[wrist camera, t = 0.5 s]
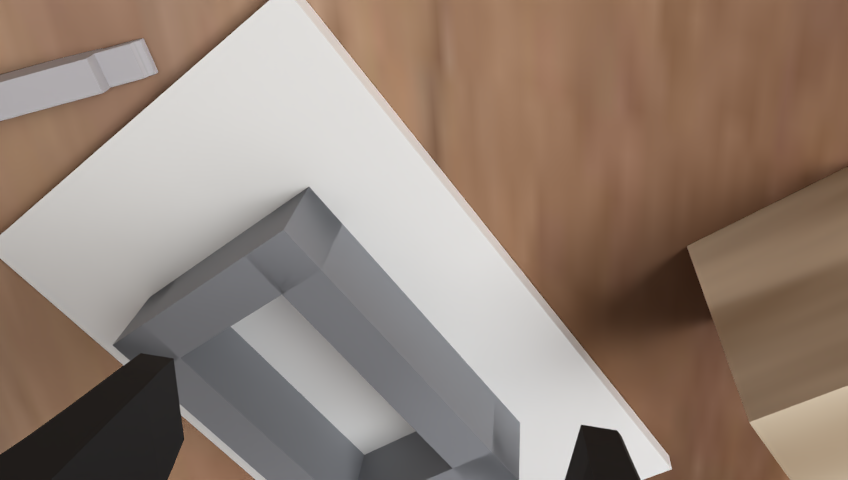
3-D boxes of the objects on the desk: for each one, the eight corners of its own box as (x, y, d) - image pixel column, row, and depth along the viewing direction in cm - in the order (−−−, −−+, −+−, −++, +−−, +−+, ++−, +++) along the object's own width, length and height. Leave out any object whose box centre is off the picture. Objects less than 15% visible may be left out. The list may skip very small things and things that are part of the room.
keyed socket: (669, 455, 25) (685, 531, 22) (372, 565, 31) (357, 636, 28) (291, -19, 18) (250, 11, 15) (-2, 237, 24) (-68, 290, 21)
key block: (905, 239, 20) (1067, 425, 14) (733, 315, 22) (808, 506, 16) (863, 158, 19) (1018, 321, 13) (686, 246, 21) (749, 422, 15)
